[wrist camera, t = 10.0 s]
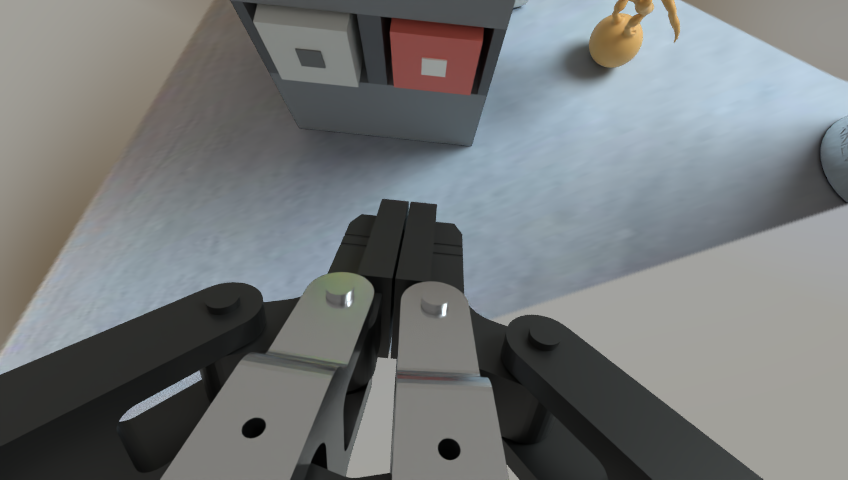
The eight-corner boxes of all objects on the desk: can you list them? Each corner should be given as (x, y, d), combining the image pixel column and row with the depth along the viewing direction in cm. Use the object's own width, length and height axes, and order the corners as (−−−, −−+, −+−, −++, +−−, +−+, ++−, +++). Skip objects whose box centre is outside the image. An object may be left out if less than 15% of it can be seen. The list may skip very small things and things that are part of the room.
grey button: (371, 7, 27) (362, -62, 23) (358, 88, 26) (346, 33, 21) (298, -1, 27) (275, -71, 23) (281, 80, 26) (252, 23, 21)
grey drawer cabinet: (478, 60, 35) (542, -214, 18) (471, 146, 33) (535, -67, 16) (312, 42, 35) (214, -249, 18) (296, 127, 33) (167, -107, 16)
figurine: (653, 82, 35) (771, -46, 24) (598, 116, 34) (694, 1, 23) (591, 12, 37) (674, -140, 25) (538, 43, 36) (598, -99, 24)
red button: (477, 15, 27) (490, -52, 23) (470, 96, 26) (482, 43, 21) (404, 7, 27) (402, -61, 23) (393, 88, 26) (389, 33, 21)
